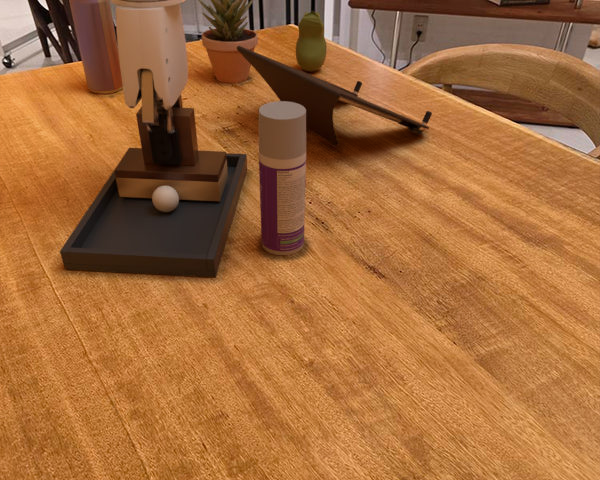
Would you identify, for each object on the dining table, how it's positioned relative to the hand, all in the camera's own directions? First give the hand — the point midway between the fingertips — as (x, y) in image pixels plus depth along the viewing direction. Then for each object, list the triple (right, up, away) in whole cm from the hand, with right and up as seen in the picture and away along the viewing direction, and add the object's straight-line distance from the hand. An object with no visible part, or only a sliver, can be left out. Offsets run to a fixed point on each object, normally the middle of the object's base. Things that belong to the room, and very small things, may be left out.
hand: (170, 155), depth 69 cm
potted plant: (+3, +23, +36) cm, 43 cm away
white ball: (0, -5, -2) cm, 6 cm away
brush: (0, -3, +3) cm, 4 cm away
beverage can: (-18, +19, +31) cm, 40 cm away
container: (+13, -11, -4) cm, 18 cm away
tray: (0, -7, 0) cm, 7 cm away
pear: (+17, +25, +40) cm, 50 cm away
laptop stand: (+21, +9, +20) cm, 31 cm away
